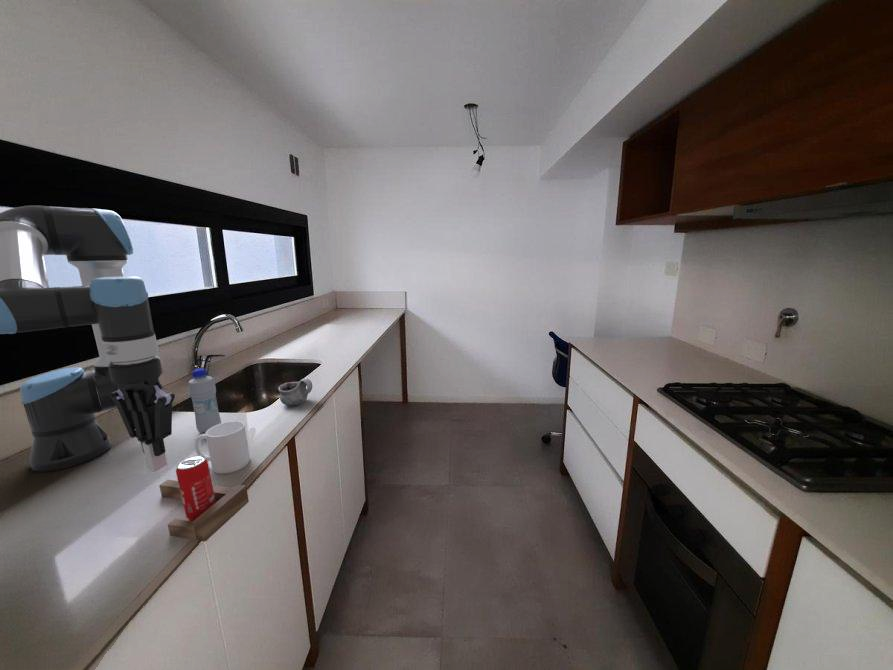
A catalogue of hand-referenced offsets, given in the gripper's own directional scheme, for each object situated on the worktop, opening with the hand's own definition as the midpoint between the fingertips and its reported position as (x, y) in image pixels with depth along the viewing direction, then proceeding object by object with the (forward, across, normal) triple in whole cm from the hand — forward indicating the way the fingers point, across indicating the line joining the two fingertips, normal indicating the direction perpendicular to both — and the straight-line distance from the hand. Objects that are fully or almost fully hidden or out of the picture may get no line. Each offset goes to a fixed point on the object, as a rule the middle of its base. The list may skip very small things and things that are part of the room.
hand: (158, 467), depth 73 cm
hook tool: (+9, +6, -1) cm, 11 cm away
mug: (+11, -4, +54) cm, 55 cm away
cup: (+10, 0, +16) cm, 18 cm away
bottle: (+11, -19, +30) cm, 38 cm away
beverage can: (+9, +10, -1) cm, 13 cm away
